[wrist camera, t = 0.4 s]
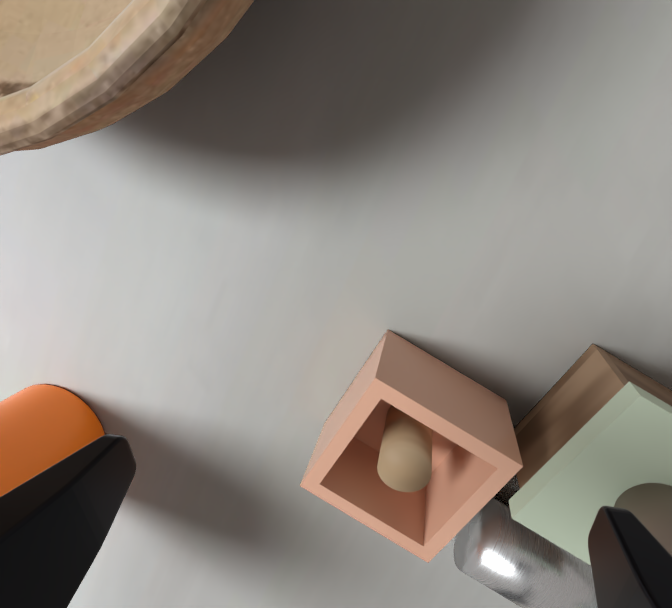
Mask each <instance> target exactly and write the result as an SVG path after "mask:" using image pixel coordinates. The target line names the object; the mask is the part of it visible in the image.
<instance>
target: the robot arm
mask: <svg viewBox="0 0 672 608" xmlns="http://www.w3.org/2000/svg"><path fill="white" fill-rule="evenodd" d="M135 471H136V462H135V459H134V456H133V453H132V451H131V448H130V445H129V442H128V440H127V439H126V438H125V437H124V436H119V435H112V434H107V435H103V436H101V437H100V438H98V439H96V440H94V441H93V442H91V443H89V444H88V445H86V446H84V447H83V448H81V449H79V450H78V451H76V452H74V453H73V454H71V455H69V456H68V457H66V458H64V459H63V460H61V461H59V462H58V463H56V464H54V465H53V466H51V467H49V468H48V469H46V470H44V471H43V472H41V473H39V474H38V475H36V476H34V477H33V478H31V479H29V480H28V481H26V482H24V483H23V484H21V485H19V486H18V487H16V488H14V489H13V490H11V491H9V492H8V493H6V494H4V495H3V496H1V497H0V608H67V606H68V605H69V603H70V601H71V599H72V598H73V596H74V594H75V592H76V591H77V589H78V587H79V585H80V584H81V582H82V580H83V578H84V577H85V575H86V573H87V571H88V570H89V568H90V566H91V564H92V563H93V561H94V559H95V557H96V555H97V554H98V552H99V550H100V548H101V546H102V544H103V542H104V540H105V538H106V536H107V534H108V532H109V530H110V527H111V525H112V523H113V521H114V519H115V516H116V514H117V512H118V510H119V508H120V505H121V503H122V501H123V499H124V497H125V494H126V492H127V490H128V488H129V486H130V484H131V481H132V479H133V477H134V474H135ZM588 550H589V557H590V563H591V569H592V575H593V582H594V588H595V594H596V601H597V607H598V608H672V556H671V555H670V554H669V552H668V551H667V550H666V549H665V548H664V547H663V546H662V545H661V544H660V543H659V541H658V540H657V539H656V538H655V537H654V536H653V535H652V534H651V533H650V532H649V530H648V529H647V528H646V527H645V526H644V525H643V524H642V523H641V522H640V521H639V519H638V518H637V517H636V516H635V515H634V514H633V513H632V512H630V511H629V510H627V509H624V508H618V507H611V506H602V507H601V508H600V509H599V510H598V513H597V515H596V517H595V520H594V522H593V525H592V527H591V530H590V532H589V535H588Z"/></svg>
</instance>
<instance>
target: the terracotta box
mask: <svg viewBox="0 0 672 608" xmlns="http://www.w3.org/2000/svg"><path fill="white" fill-rule="evenodd" d="M391 405H392V406H394V407H396V408H397V409H399V410H401V411H402V412H404V413H406V414H407V415H409V416H411V417H412V418H414V419H416V420H417V421H419V422H421V423H423V424H424V425H426V426H428V427H429V428H431V429H433V432H432V475H431V479H430V481H429V483H428V484H427V485H426V486H425V487H424V488H422V489H420V490H418V491H415V492H401V491H397V490H394V489H392V488H390V487H389V486H387V485H386V484H385V483H384V482H383V481H382V479H381V478H380V476H379V474H378V470H377V465H378V459H379V454H380V448H381V443H382V437H383V432H384V427H385V421H386V416H387V412H388V409H389V408H390V406H391ZM522 467H523V463H522V459H521V456H520V452H519V448H518V444H517V440H516V436H515V432H514V428H513V425H512V421H511V417H510V413H509V409H508V405H507V401H506V400H505V399H503V398H502V397H500V396H498V395H497V394H495V393H493V392H492V391H490V390H488V389H487V388H485V387H483V386H482V385H480V384H478V383H477V382H475V381H473V380H472V379H470V378H468V377H467V376H465V375H463V374H462V373H460V372H458V371H456V370H455V369H453V368H451V367H450V366H448V365H446V364H445V363H443V362H441V361H440V360H438V359H436V358H435V357H433V356H431V355H430V354H428V353H426V352H425V351H423V350H421V349H420V348H418V347H416V346H415V345H413V344H411V343H410V342H408V341H406V340H405V339H403V338H401V337H400V336H398V335H396V334H395V333H393V332H391V331H390V330H387V331H386V333H385V334H384V336H383V337H382V339H381V340H380V342H379V343H378V345H377V346H376V348H375V349H374V350H373V352H372V353H371V355H370V356H369V358H368V359H367V361H366V362H365V364H364V365H363V367H362V368H361V370H360V371H359V373H358V374H357V376H356V377H355V379H354V380H353V382H352V383H351V385H350V386H349V388H348V389H347V391H346V392H345V394H344V395H343V397H342V398H341V400H340V401H339V403H338V404H337V405H336V407H335V408H334V410H333V411H332V413H331V414H330V416H329V417H328V419H327V420H326V422H325V423H324V426H323V428H322V431H321V433H320V436H319V438H318V441H317V443H316V446H315V448H314V451H313V454H312V456H311V459H310V461H309V464H308V466H307V469H306V471H305V474H304V476H303V479H302V481H301V484H300V486H301V487H303V488H304V489H306V490H308V491H309V492H311V493H313V494H314V495H316V496H318V497H319V498H321V499H323V500H324V501H326V502H328V503H329V504H331V505H333V506H334V507H336V508H338V509H339V510H341V511H343V512H344V513H346V514H348V515H349V516H351V517H353V518H354V519H356V520H358V521H359V522H361V523H363V524H364V525H366V526H368V527H369V528H371V529H373V530H374V531H376V532H378V533H379V534H381V535H383V536H384V537H386V538H388V539H389V540H391V541H393V542H394V543H396V544H398V545H399V546H401V547H403V548H404V549H406V550H408V551H409V552H411V553H413V554H414V555H416V556H418V557H419V558H421V559H423V560H424V561H426V562H428V563H429V562H430V561H431V560H432V559H433V557H434V556H435V555H436V554H437V553H438V552H439V551H440V550H441V549H442V548H443V547H444V546H445V545H446V544H447V543H448V542H449V541H450V540H451V539H452V538H453V537H454V536H455V535H456V534H457V533H458V532H459V531H460V530H461V529H462V528H463V527H464V526H465V525H466V524H467V523H468V522H469V521H470V520H471V519H472V518H473V517H474V516H475V515H476V514H477V513H478V512H479V511H480V510H481V509H482V508H483V507H484V506H485V505H486V504H487V503H488V502H489V501H490V500H491V499H492V498H493V497H494V496H495V495H496V494H497V493H498V492H499V491H500V489H501V488H502V487H503V486H504V485H505V484H506V483H507V482H508V481H509V480H510V479H511V478H512V477H513V476H514V475H515V474H516V473H517V472H518V471H519V470H520V469H521V468H522Z"/></svg>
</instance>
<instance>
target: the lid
mask: <svg viewBox="0 0 672 608" xmlns="http://www.w3.org/2000/svg"><path fill="white" fill-rule="evenodd" d="M508 501H509V506H510V511H511V517H512V519H514V520H515V521H517V522H519V523H520V524H522V525H524V526H525V527H527V528H529V529H531V530H532V531H534V532H536V533H537V534H539V535H541V536H542V537H544V538H546V539H547V540H549V541H551V542H552V543H554V544H556V545H557V546H559V547H561V548H562V549H564V550H566V551H567V552H569V553H571V554H572V555H574V556H576V557H577V558H579V559H581V560H582V561H584V562H586V563H587V564H589V565H591V563H590V557H589V550H588V535H589V532H590V530H591V527H592V525H593V522H594V520H595V517H596V515H597V513H598V510H599V509H600V508H601V507H602V506H611V507H618V508H624V509H627V510H629V511H630V512H632V513H633V514H634V515H635V516H636V517H637V518H638V519H639V521H640V522H641V523H642V524H643V525H644V526H645V527H646V528H647V529H648V530H649V532H650V533H651V534H652V535H653V536H654V537H655V538H656V539H657V540H658V541H659V543H660V544H661V545H662V546H663V547H664V548H665V549H666V550H667V551H668V552H669V554H670V555H671V556H672V406H670V405H668V404H667V403H665V402H663V401H662V400H660V399H658V398H657V397H655V396H653V395H651V394H650V393H648V392H646V391H645V390H643V389H641V388H640V387H638V386H636V385H635V384H633V383H631V382H630V381H629V382H628V383H627V384H626V385H625V386H624V387H623V388H622V389H621V390H620V391H619V392H618V393H617V394H616V395H615V396H614V397H613V398H612V399H611V400H610V401H609V402H608V403H607V404H606V405H605V406H604V407H603V408H601V409H600V410H599V411H598V412H597V413H596V414H595V415H594V416H593V417H592V418H591V419H590V420H589V421H588V422H587V423H586V424H585V425H584V426H583V427H582V428H581V429H580V430H579V431H578V432H577V433H576V434H575V435H574V436H573V437H572V438H571V439H570V440H569V441H568V442H567V443H566V444H565V445H564V446H563V447H562V448H561V449H560V450H559V451H558V452H557V453H556V454H555V455H554V456H553V457H552V458H551V459H550V460H549V461H548V462H547V463H546V464H545V465H544V466H543V467H542V468H541V469H540V470H539V471H538V472H537V473H536V474H535V475H534V476H533V477H532V478H531V479H530V480H529V481H528V482H527V483H526V484H525V485H524V486H523V487H522V488H521V489H520V490H518V491H517V492H516V493H515V494H514V495H513V496H512V497H511V498H510V499H509V500H508Z"/></svg>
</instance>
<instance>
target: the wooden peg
mask: <svg viewBox="0 0 672 608" xmlns="http://www.w3.org/2000/svg"><path fill="white" fill-rule="evenodd" d="M432 432H433V429H431V428H429V427H428V426H426V425H424V424H423V423H421V422H419V421H417V420H416V419H414V418H412V417H411V416H409V415H407V414H406V413H404V412H402V411H401V410H399V409H397V408H396V407H394V406H392V405H391V406H390V408H389V409H388V412H387V416H386V421H385V427H384V432H383V437H382V443H381V448H380V454H379V459H378V465H377V470H378V474H379V476H380V478H381V479H382V481H383V482H384V483H385V484H386V485H387V486H389V487H390V488H392V489H394V490H397V491H401V492H415V491H418V490H420V489H422V488H424V487H425V486H426V485H427V484H428V483H429V481H430V479H431V475H432Z"/></svg>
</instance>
